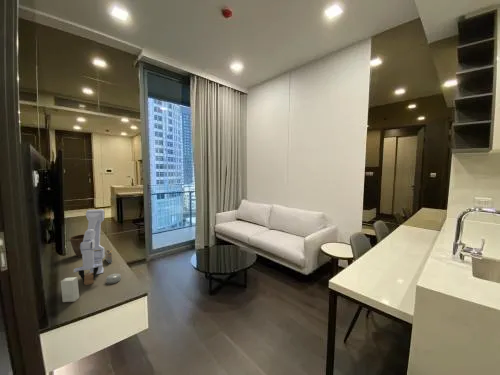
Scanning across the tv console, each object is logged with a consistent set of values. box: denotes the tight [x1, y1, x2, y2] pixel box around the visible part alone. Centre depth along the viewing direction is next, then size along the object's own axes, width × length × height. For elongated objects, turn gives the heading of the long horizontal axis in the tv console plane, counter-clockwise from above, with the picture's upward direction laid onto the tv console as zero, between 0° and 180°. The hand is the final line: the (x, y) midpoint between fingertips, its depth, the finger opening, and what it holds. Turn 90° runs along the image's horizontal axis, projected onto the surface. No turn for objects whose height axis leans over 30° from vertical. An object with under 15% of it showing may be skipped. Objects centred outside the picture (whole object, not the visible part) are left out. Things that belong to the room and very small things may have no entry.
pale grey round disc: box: [105, 273, 122, 285], centre depth 140 cm, size 8×8×3 cm
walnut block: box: [83, 272, 95, 286], centre depth 137 cm, size 4×4×6 cm
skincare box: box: [60, 276, 80, 303], centre depth 118 cm, size 6×4×12 cm
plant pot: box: [69, 233, 85, 257], centre depth 183 cm, size 15×15×16 cm
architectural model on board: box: [104, 249, 113, 264], centre depth 171 cm, size 11×3×10 cm, turn 42°
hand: (89, 280), depth 137 cm, fingers open, 5 cm apart
